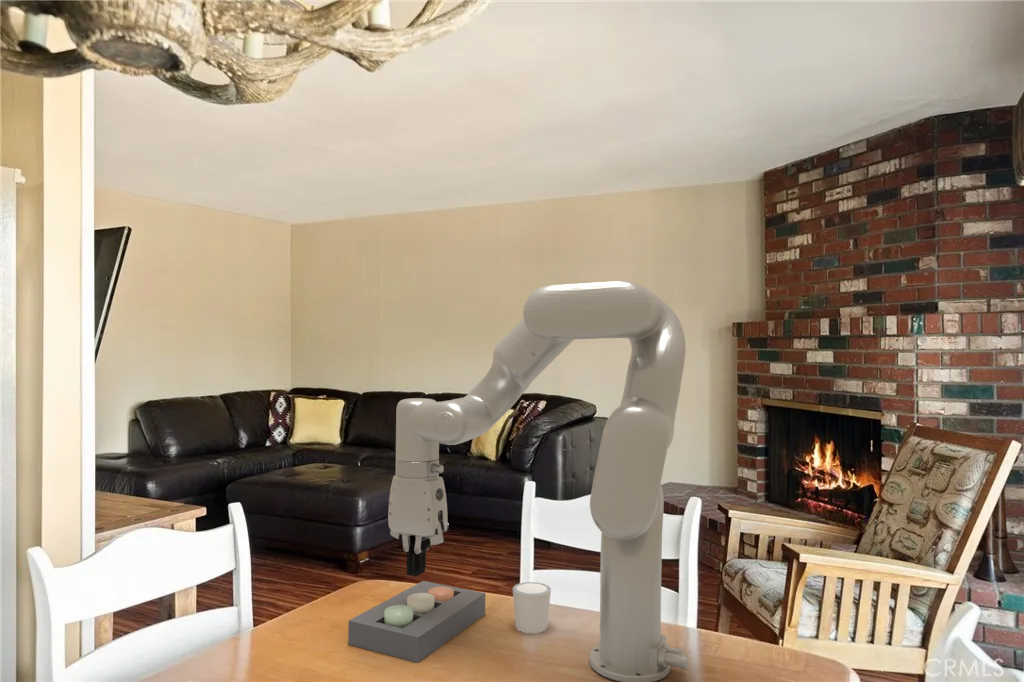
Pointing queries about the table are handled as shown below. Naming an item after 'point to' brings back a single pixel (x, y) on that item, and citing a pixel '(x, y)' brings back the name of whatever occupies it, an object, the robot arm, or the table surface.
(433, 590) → the terracotta button
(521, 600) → the light grey cup
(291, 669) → the table surface
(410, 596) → the cream button
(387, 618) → the sage button
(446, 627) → the console
